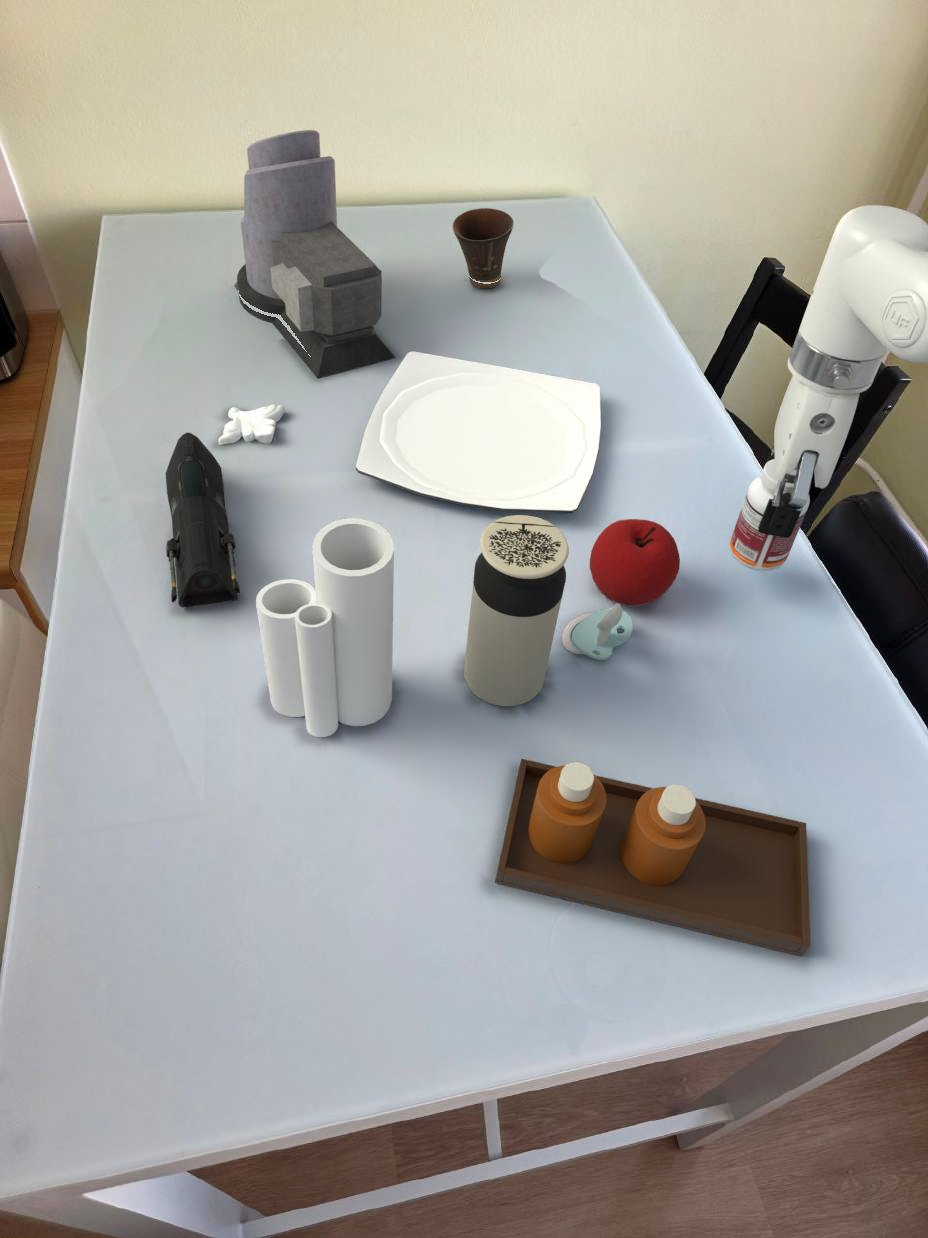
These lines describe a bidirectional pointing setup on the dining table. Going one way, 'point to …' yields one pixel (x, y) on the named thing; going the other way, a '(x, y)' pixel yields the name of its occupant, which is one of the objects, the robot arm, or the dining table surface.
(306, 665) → the vase
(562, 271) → the dining table surface
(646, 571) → the apple
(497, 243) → the cup
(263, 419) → the acanthus leaf ornament
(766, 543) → the pill bottle
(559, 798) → the amber bottle far
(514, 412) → the plate
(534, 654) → the travel mug
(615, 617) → the pacifier
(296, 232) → the juicer
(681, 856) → the amber bottle middle
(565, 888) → the tray
